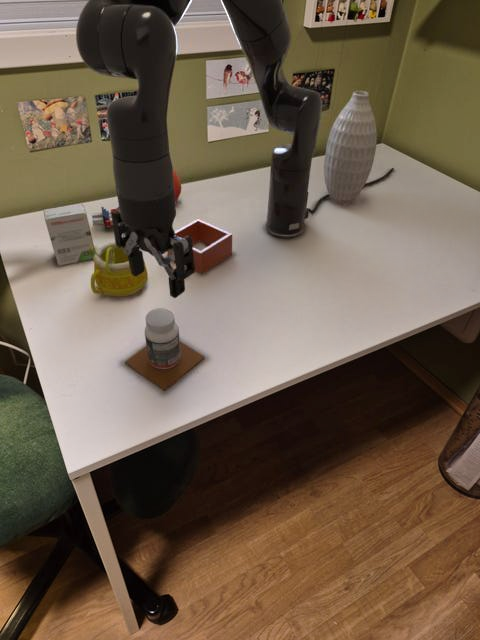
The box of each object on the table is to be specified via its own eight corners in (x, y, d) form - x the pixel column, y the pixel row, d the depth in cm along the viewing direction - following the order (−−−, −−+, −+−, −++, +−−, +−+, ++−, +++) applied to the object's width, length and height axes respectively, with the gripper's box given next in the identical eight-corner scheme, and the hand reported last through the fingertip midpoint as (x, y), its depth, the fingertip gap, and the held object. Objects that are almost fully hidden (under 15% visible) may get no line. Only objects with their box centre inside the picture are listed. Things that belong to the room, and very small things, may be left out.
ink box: (93, 248, 110) (83, 202, 102) (97, 259, 107) (87, 212, 99) (55, 255, 107) (42, 208, 100) (57, 266, 104) (44, 219, 96)
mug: (125, 264, 105) (117, 216, 97) (159, 283, 100) (153, 234, 92) (77, 290, 98) (65, 240, 90) (111, 312, 93) (101, 262, 85)
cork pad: (165, 334, 88) (165, 332, 88) (204, 358, 84) (204, 356, 84) (124, 363, 83) (124, 361, 82) (164, 391, 78) (164, 389, 78)
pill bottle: (149, 347, 85) (143, 306, 78) (181, 346, 85) (177, 304, 79) (147, 371, 81) (141, 329, 74) (180, 370, 81) (177, 327, 74)
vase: (370, 197, 133) (395, 91, 115) (353, 215, 125) (376, 104, 107) (330, 185, 138) (346, 82, 120) (311, 202, 130) (326, 94, 111)
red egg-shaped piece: (177, 212, 124) (175, 173, 117) (147, 209, 125) (143, 170, 118) (185, 198, 130) (183, 160, 123) (156, 195, 131) (153, 157, 124)
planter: (198, 238, 114) (197, 218, 111) (232, 254, 109) (232, 233, 106) (167, 256, 108) (165, 236, 104) (201, 274, 103) (200, 253, 100)
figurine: (90, 204, 117) (150, 198, 120) (93, 219, 120) (151, 212, 123) (92, 221, 111) (155, 214, 114) (95, 236, 114) (156, 229, 117)
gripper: (204, 191, 60) (207, 290, 71) (130, 161, 67) (143, 256, 77) (162, 213, 56) (173, 315, 67) (87, 179, 62) (107, 277, 73)
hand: (157, 283), depth 72 cm, fingers open, 8 cm apart
